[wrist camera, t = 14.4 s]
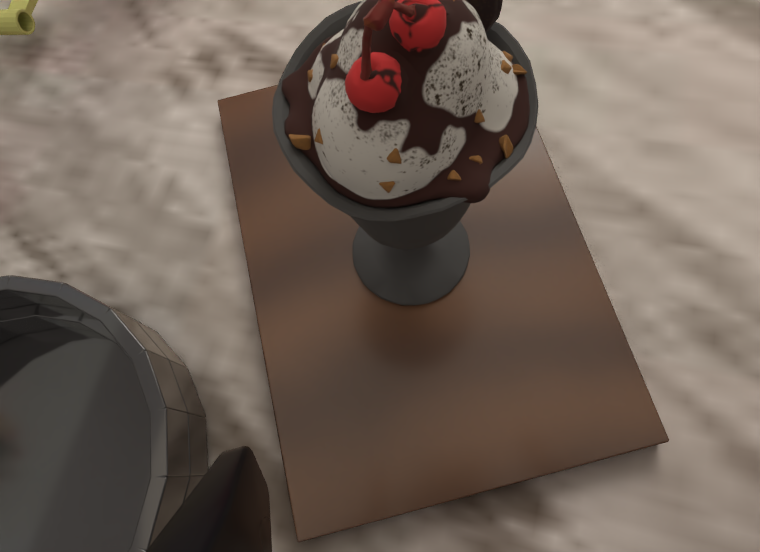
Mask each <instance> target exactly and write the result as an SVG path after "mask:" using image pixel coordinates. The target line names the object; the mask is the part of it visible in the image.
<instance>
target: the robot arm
mask: <svg viewBox="0 0 760 552" xmlns="http://www.w3.org/2000/svg"><path fill="white" fill-rule="evenodd" d="M146 552H272V542H271V522H270V502H269V492H268V487H267V484H266V481H265V479H264V477H263V474H262V472H261V470H260V468H259V465H258V463H257V461H256V458H255V456H254V454H253V452H252V450H251V449H250V448H249V447H247V446H243V447H239V448H235V449H231V450H228V451H225V452H223V453H222V454H221V455H220V456H219V457H218V458H217V459H216V461H215V462H214V463H213V465H212V466H211V467H210V469H209V470H208V471H207V472H206V474H205V475H204V476H203V478H202V479H201V480H200V481H199V483H198V484H197V485H196V487H195V488H194V489H193V491H192V492H191V493H190V494H189V496H188V497H187V498H186V500H185V501H184V502H183V504H182V505H181V506H180V507H179V509H178V510H177V511H176V513H175V514H174V515H173V517H172V518H171V519H170V520H169V522H168V523H167V524H166V526H165V527H164V528H163V530H162V531H161V532H160V533H159V535H158V536H157V537H156V539H155V540H154V541H153V543H152V544H151V545H150V546H149V548H148V549H147V550H146Z"/></svg>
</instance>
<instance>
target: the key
mask: <svg viewBox="0 0 760 552" xmlns="http://www.w3.org/2000/svg"><path fill="white" fill-rule="evenodd" d="M37 1H38V0H12V1H11V3H10V6H9V8H8V9H7V10H0V35H28V34H32V33H33V32H34V29H35V22H34V19H33V17H32V12H33V10H34V8H35V6H36V3H37Z"/></svg>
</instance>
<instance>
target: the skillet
mask: <svg viewBox="0 0 760 552" xmlns="http://www.w3.org/2000/svg"><path fill="white" fill-rule="evenodd" d="M205 417H206V416H205V413H204V410H203V408H202V405H201V402H200V400H199V397H198V394H197V392H196V389H195V386H194V384H193V381H192V378H191V376H190V373H189V370H188V369H187V367H186V366H185V364H184V363H183V362H182V361H181V360H180V359H179V357H178V356H177V355H176V354H175V353H174V352H173V350H172V349H171V348H170V347H169V346H168V345H167V343H166V342H165V341H164V340H163V339H162V338H161V336H160V335H159V334H158V333H157V332H156V331H155V330H153V329H151V328H149V327H147V326H146V325H144V324H142V323H140V322H138V321H136V320H134V319H133V318H131V317H129V316H127V315H125V314H123V313H121V312H120V311H118V310H116V309H114V308H112V307H110V306H108V305H106V304H104V303H103V302H101V301H99V300H97V299H95V298H93V297H91V296H89V295H87V294H85V293H84V292H82V291H80V290H78V289H76V288H74V287H72V286H70V285H68V284H66V283H63V282H56V281H49V280H42V279H35V278H28V277H21V276H13V275H12V276H3V277H0V552H146V550H147V549H148V548H149V546H150V545H151V544H152V543H153V541H154V540H155V539H156V537H157V536H158V535H159V533H160V532H161V531H162V530H163V528H164V527H165V526H166V524H167V523H168V522H169V520H170V519H171V518H172V517H173V515H174V514H175V513H176V511H177V510H178V509H179V507H180V506H181V505H182V504H183V502H184V501H185V500H186V498H187V497H188V496H189V494H190V493H191V492H192V491H193V489H194V488H195V487H196V485H197V484H198V483H199V481H200V480H201V479H202V478H203V476H204V475H205V474H206V472H207V471H208V458H207V435H206V419H205Z"/></svg>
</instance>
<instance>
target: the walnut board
mask: <svg viewBox="0 0 760 552" xmlns="http://www.w3.org/2000/svg"><path fill="white" fill-rule="evenodd" d="M277 86H278V85H275V86H271V87H268V88H264V89H260V90H256V91H252V92H248V93H244V94H241V95H237V96H233V97H229V98H225V99H221V100H218V106H219V111H220V117H221V122H222V128H223V133H224V139H225V144H226V150H227V155H228V161H229V166H230V172H231V177H232V183H233V188H234V194H235V200H236V205H237V211H238V216H239V222H240V227H241V233H242V238H243V244H244V249H245V255H246V260H247V266H248V271H249V277H250V282H251V288H252V293H253V299H254V304H255V310H256V315H257V321H258V326H259V332H260V337H261V343H262V348H263V354H264V359H265V365H266V370H267V376H268V381H269V387H270V392H271V398H272V403H273V409H274V414H275V420H276V425H277V431H278V437H279V442H280V448H281V453H282V459H283V464H284V470H285V475H286V481H287V486H288V492H289V497H290V503H291V508H292V514H293V519H294V525H295V530H296V536H297V541H298V542H302V541H305V540H309V539H313V538H316V537H320V536H324V535H327V534H331V533H335V532H338V531H342V530H346V529H349V528H353V527H357V526H360V525H364V524H368V523H371V522H375V521H379V520H382V519H386V518H390V517H393V516H397V515H401V514H405V513H408V512H412V511H416V510H419V509H423V508H427V507H430V506H434V505H438V504H441V503H445V502H449V501H452V500H456V499H460V498H463V497H467V496H471V495H474V494H478V493H482V492H485V491H489V490H493V489H496V488H500V487H504V486H507V485H511V484H515V483H518V482H522V481H526V480H529V479H533V478H537V477H540V476H544V475H548V474H551V473H555V472H559V471H562V470H566V469H570V468H573V467H577V466H581V465H584V464H588V463H592V462H595V461H599V460H603V459H606V458H610V457H614V456H617V455H621V454H625V453H628V452H632V451H636V450H639V449H643V448H647V447H650V446H654V445H658V444H661V443H665V442H668V441H669V439H668V436H667V434H666V432H665V429H664V427H663V425H662V422H661V420H660V418H659V415H658V413H657V410H656V408H655V406H654V403H653V401H652V399H651V396H650V394H649V392H648V389H647V387H646V384H645V382H644V380H643V377H642V375H641V373H640V370H639V368H638V365H637V363H636V361H635V358H634V356H633V354H632V351H631V349H630V347H629V344H628V342H627V339H626V337H625V335H624V332H623V330H622V328H621V325H620V323H619V321H618V318H617V316H616V313H615V311H614V309H613V306H612V304H611V302H610V299H609V297H608V295H607V292H606V290H605V287H604V285H603V283H602V280H601V278H600V276H599V273H598V271H597V269H596V266H595V264H594V261H593V259H592V257H591V254H590V252H589V250H588V247H587V245H586V243H585V240H584V238H583V235H582V233H581V231H580V228H579V226H578V224H577V221H576V219H575V217H574V214H573V212H572V209H571V207H570V205H569V202H568V200H567V198H566V195H565V193H564V190H563V188H562V186H561V183H560V181H559V179H558V176H557V174H556V172H555V169H554V167H553V164H552V162H551V160H550V157H549V155H548V153H547V150H546V148H545V146H544V143H543V141H542V138H541V136H540V134H539V131H538V129H537V127H536V128H535V132H534V135H533V138H532V142H531V144H530V146H529V148H528V150H527V152H526V153H525V155H524V157H523V159H522V160H521V161H520V162H519V163H518V164H517V165H516V166H515V167H514V168H513V169H512V170H511V171H510V172H509V173H508V174H507V175H505V176H504V177H503V178H502V179H501V180H499V181H498V182H497V183H496V184H495V185H493V186H492V187H491V188H490V191H489V193H488V195H487V196H486V198H485V199H484V200H482V201H481V202H477V203H471V204H470V206H469V208H468V209H467V211H466V213H465V214H464V216H463V217H462V218H461V220H460V222H461V223H462V224H463V226H464V228H465V230H466V232H467V235H468V240H469V246H470V257H469V261H468V266H467V268H466V271H465V273H464V276H463V277H462V279H461V280H460V281H459V283H458V284H457V285H456V286H455V287H454V288H453V289H452V290H451V291H450V292H449V293H448V294H446V295H444V296H443V297H441V298H439V299H437V300H435V301H432V302H430V303H428V304H421V305H400V304H395V303H392V302H389V301H386V300H384V299H381V298H380V297H378V296H377V295H376V294H374V293H373V292H371V291H370V290H369V289H368V288H367V287H366V286H365V285H364V284H363V282H362V281H361V279H360V277H359V276H358V273H357V271H356V269H355V267H354V262H353V241H354V238H355V235H356V232H357V230H358V228H359V225H358V224H357V223H356V222H355V221H354V220H353V219H352V217H351V216H349V215H348V214H346V213H344V212H342V211H340V210H338V209H337V208H335V207H333V206H331V205H329V204H328V203H327V202H326V201H325V200H323V199H322V198H321V197H320V196H319V195H317V194H316V193H315V192H314V191H313V190H312V189H311V188H310V187H309V186H308V185H307V184H306V183H305V182H304V181H303V180H302V179H301V178H300V177H299V176H298V175H297V174H296V173H295V172H294V171H293V169H292V167H291V166H290V164H289V162H288V161H287V159H286V157H285V155H284V154H283V152H282V150H281V148H280V145H279V143H278V141H277V138H276V136H275V133H274V131H273V118H272V107H273V97H274V94H275V91H276V89H277Z"/></svg>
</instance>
